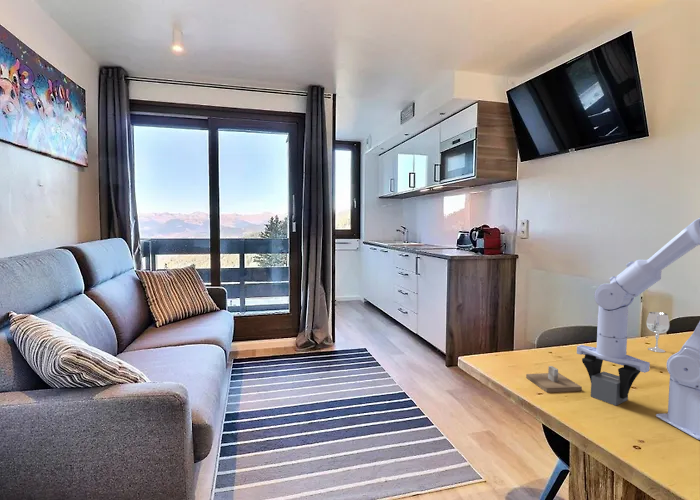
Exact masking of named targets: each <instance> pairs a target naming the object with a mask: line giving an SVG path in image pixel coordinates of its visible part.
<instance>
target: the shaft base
mask: <svg viewBox="0 0 700 500" xmlns="http://www.w3.org/2000/svg"><path fill="white" fill-rule="evenodd" d="M547 369H548V372H545V373H543V372H542V373H526V374H525V378H526V379H527V380H528V381H530V382H532V384H534V385H536V386H537V387H538V388H540V389H541V390H543V391H544V392H546V393H561V392H564V393H565V392H580V391H582V389H583V387H582V386H581V385H580V384H578V383H577V382H574V381H573V380H571V379H570V378H568V377H567V376H565V375H563V374H561V373H559V369H558V368H556V367H554V365H548V368H547Z"/></svg>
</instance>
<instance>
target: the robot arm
mask: <svg viewBox="0 0 700 500" xmlns="http://www.w3.org/2000/svg"><path fill="white" fill-rule="evenodd" d="M698 246H700V217H699V218H696V219H695V220H693V221H692V222H691V223H689V224H688V225H687V226H686V227H684V228H683V229H682V230H681V231H680V232H679V233H678V234H676V235H675V236H674V237H673V238H672V239H670V240H669V241H668V242H667V243H665V244H664V245H663V246H662V247H661V248H660V249H659V250H657V251H656V252H655V253H653V255H651V256H650V257H649V258H648V259H636V260H635V261H633V260H632V261H629V262H627V263H625V266H626V267H625V269H623V270H622V271H621V272H620V273H619V274H617V275H616V276H615V275H614V276H613V275H612V276H611V277H609V283H602V284H601V283H600V284H599V285H598V287H597V288H596V289H595V291H594V296H593V297H594V301H595V303H596V304H597V305H598V311H597V329H596V330H597V331H596V332H597V333H596V347H595V346H588V345H584V344H579V345H576V354H577V355H584V357H583V358H581V362H582V364H583V366H584V367H585V368H586V371H587V374H588V377H589V380H590V382H591V376H592V375H595V374H598V373H601V372H602V366H603V362H604V361H605V362H609V363H612V364H616V365H619V366H622V367H619V368H618V369H617V371H618V372H617V373H618V376H619V377H620V398H622V399H624V398H626V397H628V398H629V393H630V389H631V387H632V385H633V383H634V382H635V380H636V378H637V377H638V375H639V374H640V373H645V374H646V373H648V372H650V364H651V362H648V361H645V360H643V359H640V358H637V357H634V356H632V355H629V354H627V350H628V349H627V345H628V326H629V325H628V323H629V321H628V320H629V315H628V314H629V306H630V305H631V304H632V303H633V302H634V300H635V298H637V297H638V296H640V295H642V294H643V293H644V292H645V291H647V290H648V289H649V288H650V287H652V286H653V285H655V284H656V283H658V282H659V281H660V280H661V279H662V271H663V270H665V268H667V267H668V266H670V265H671V264H673V263H674V262H676V261H678V260H679V259H680V258H682V257H683V256H685V255H686V254H688V253H689V252H690V251H692V250H694V249H695V248H696V247H698ZM666 369H667V370H666V371H667V372H668V374H669V386H668V401H667V402H668V405H667V413H656V414H655V416H656V418H658V419H660V420H662V421H664V422H665V423H667V424H670V425H671V426H673V427H675V428H676V429H678V430H680V431H682V432H684V433H686V434H687V435H689V436H690V437H692V438H694V439H697V440H699V441H700V320H699V322H698V323H697V325H696V327H695V329H694V330H693V332H692V333H691V335H690V336H689V338H688V339H687V340H686V341H685V342H684V343H683V344H682V347H681V348H680V349H679V351H677V352H676V353H674V354H671V355H670V356H669V357H668V358H667V360H666Z"/></svg>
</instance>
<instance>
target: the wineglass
mask: <svg viewBox="0 0 700 500" xmlns="http://www.w3.org/2000/svg"><path fill="white" fill-rule="evenodd" d="M646 327H647V329H648V330H649V331H651V332H652V333H655V335H654V337H655V346H654V347H648V348H647V350H648V351H651V352H656V353H666V349H665V350H664V349H662V348H660V347H659V346H658V345H659V344H658V343H659V338H660V334H664V333H666V332H668V331H669V330H670V319H669V314H668V313H665V312H660V311H649V313H648V314H647V318H646Z"/></svg>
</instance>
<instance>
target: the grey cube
mask: <svg viewBox="0 0 700 500" xmlns="http://www.w3.org/2000/svg"><path fill="white" fill-rule="evenodd" d="M590 397H591V398H593V399H596V400H599V401H601V400H602V402H604V403H608V404H610V405H612V404H613V406H618V405H620V404H623V403H625V402H627V401H628V400H629V396H628V397H626V398H624V399H622V398H620V377H619V375H617V374H613V373H609V372H608V371H601V373H598V374H595V375H592V376H591V381H590Z"/></svg>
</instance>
